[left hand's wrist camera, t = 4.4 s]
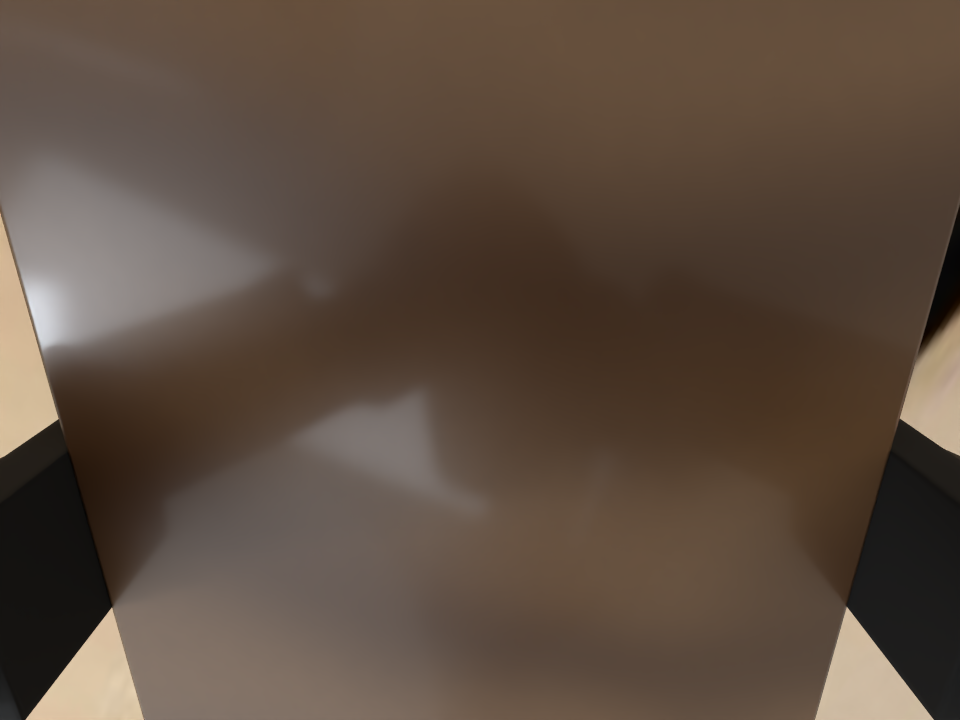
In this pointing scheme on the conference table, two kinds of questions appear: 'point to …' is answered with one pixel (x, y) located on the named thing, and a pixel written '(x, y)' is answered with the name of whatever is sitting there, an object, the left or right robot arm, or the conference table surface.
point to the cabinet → (479, 337)
